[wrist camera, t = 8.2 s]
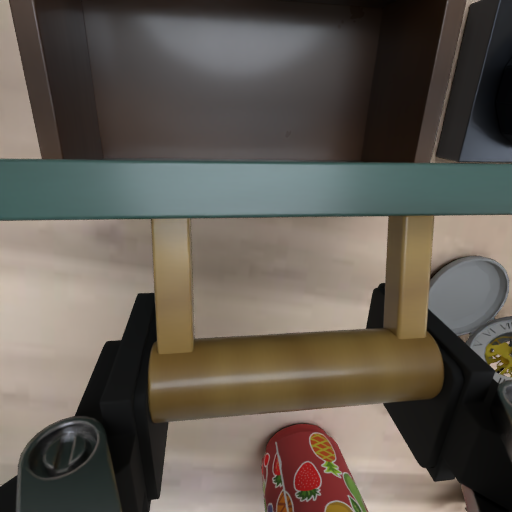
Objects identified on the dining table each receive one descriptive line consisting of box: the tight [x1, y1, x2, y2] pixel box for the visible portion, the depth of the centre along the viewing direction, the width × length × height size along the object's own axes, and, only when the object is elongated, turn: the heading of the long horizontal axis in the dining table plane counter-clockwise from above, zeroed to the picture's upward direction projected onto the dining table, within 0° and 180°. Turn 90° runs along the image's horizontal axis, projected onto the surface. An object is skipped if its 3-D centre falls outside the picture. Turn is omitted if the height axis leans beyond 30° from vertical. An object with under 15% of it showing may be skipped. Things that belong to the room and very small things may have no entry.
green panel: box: [0, 159, 512, 423], centre depth 10 cm, size 10×16×5 cm
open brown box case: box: [9, 0, 466, 163], centre depth 16 cm, size 9×16×6 cm, turn 88°
